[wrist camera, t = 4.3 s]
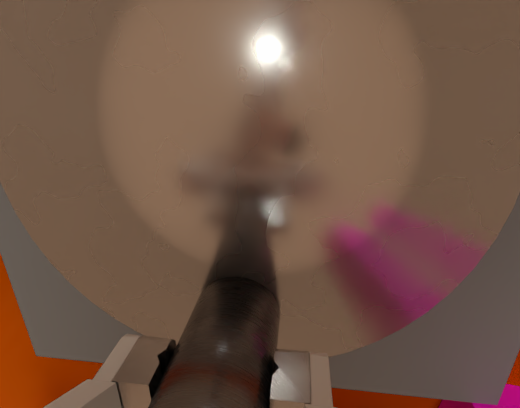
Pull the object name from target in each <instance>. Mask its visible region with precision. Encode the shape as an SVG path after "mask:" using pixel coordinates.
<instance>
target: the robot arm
mask: <svg viewBox="0 0 520 408" xmlns="http://www.w3.org/2000/svg"><path fill="white" fill-rule="evenodd" d="M175 348H176V341H175V340H174V339H168V338H160V337H152V336H144V335H142V336H141V335H133V334H126V335H124V336H123V337H122V338H121V339H120V340H119V342H118V343H117V345H116V346H115V348H114V349H113V350H112V352H111V353H110V355H109V356H108V358H107V359H106V361H105V362H104V364H103V365H102V366H101V368H100V369H99V371H98V372H97V374H96V375H95V377H94V378H93V379H92V380H90V379H87V380H86V381H84V382H82V383H81V384H79V385H78V386H76V387H75V388H73V389H71V390H70V391H68V392H67V393H65V394H64V395H62V396H61V397H59V398H57V399H56V400H54V401H53V402H51V403H50V404H48V405H46V406H45V407H43V408H148V406H149V404H150V402H151V400H152V398H153V396H154V393H155V391H156V389H157V387H158V385H159V383H160V380H161V378H162V376H163V374H164V372H165V370H166V367H167V365H168V363H169V361H170V359H171V357H172V354H173V352H174V350H175ZM270 408H336V407H333V401H332V390H331V380H330V369H329V359H328V355H327V353H321V352H309V351H299V350H287V349H275V353H274V367H273V375H272V383H271V394H270Z"/></svg>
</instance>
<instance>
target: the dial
mask: <svg viewBox="0 0 520 408" xmlns="http://www.w3.org/2000/svg"><path fill="white" fill-rule="evenodd" d="M0 182H1V185H2V187H3V189H4V191H5V193H6V195H7V197H8V199H9V201H10V203H11V205H12V207H13V209H14V211H15V213H16V215H17V216H18V218H19V219H20V221H21V222H22V224H23V226H24V227H25V229H26V230H27V232H28V233H29V235H30V237H31V238H32V240H33V241H34V242H35V243H36V245H37V246H38V247H39V249H40V250H41V251H42V252H43V254H44V255H45V256H46V258H47V259H48V260H49V261H50V263H51V264H52V265H53V266H54V267H55V268H56V269H57V270H58V271H59V272H60V273H61V274H62V275H63V276H64V277H65V278H66V280H67V281H68V282H69V283H70V284H71V285H73V286H74V287H75V288H76V289H77V290H78V291H79V292H81V293H82V294H83V295H84V296H85V297H86V298H87V299H89V300H90V301H91V302H92V303H93V304H95V305H96V306H98V307H99V308H100V309H102V310H103V311H105V312H106V313H107V314H109V315H110V316H112V317H113V318H114V319H116V320H118V321H120V322H121V323H123V324H125V325H126V326H128V327H130V328H132V329H133V330H135V331H137V332H138V333H141V334H143V335H145V336H152V337H160V338H168V339H174V340H175V341H176V348H175V350H174V352H173V354H172V357H171V359H170V361H169V363H168V365H167V367H166V370H165V372H164V374H163V376H162V378H161V380H160V383H159V385H158V387H157V389H156V391H155V393H154V396H153V398H152V400H151V402H150V404H149V406H148V408H270V394H271V383H272V375H273V367H274V353H275V349H287V350H299V351H309V352H321V353H327V355H328V357H332V356H336V355H339V354H343V353H347V352H350V351H353V350H356V349H358V348H361V347H364V346H366V345H369V344H372V343H374V342H377V341H379V340H381V339H383V338H385V337H387V336H388V335H390V334H392V333H394V332H396V331H398V330H400V329H402V328H404V327H405V326H407V325H408V324H410V323H411V322H413V321H415V320H416V319H418V318H419V317H421V316H422V315H424V314H425V313H427V312H428V311H429V310H431V309H432V308H433V307H434V306H435V305H437V304H438V303H439V302H440V301H441V300H443V299H444V298H445V297H446V296H447V295H449V294H450V293H451V292H452V291H453V290H454V289H455V288H456V287H457V286H458V285H459V284H460V283H461V282H462V281H463V280H464V278H465V277H466V276H467V275H468V274H469V273H470V272H471V271H472V270H473V269H474V268H475V267H476V265H477V264H478V263H479V261H480V260H481V259H482V257H483V256H484V255H485V253H486V252H487V250H488V249H489V248H490V246H491V245H492V244H493V242H494V241H495V240H496V238H497V236H498V234H499V233H500V231H501V229H502V227H503V225H504V224H505V222H506V220H507V218H508V216H509V215H510V213H511V211H512V209H513V208H514V205H515V203H516V200H517V198H518V195H519V193H520V0H0Z"/></svg>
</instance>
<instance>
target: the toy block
mask: <svg viewBox="0 0 520 408" xmlns="http://www.w3.org/2000/svg"><path fill="white" fill-rule="evenodd" d="M438 408H520V387H519V386H514V385H510V384H505V387H504V389H503V392H502V394H501V397H500V399H499V402H498V404H497V405H490V404H481V403H472V402H462V401H453V400H444V399H443V400H442V401H441V403H440V405H439V407H438Z"/></svg>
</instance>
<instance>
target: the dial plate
mask: <svg viewBox="0 0 520 408" xmlns="http://www.w3.org/2000/svg"><path fill="white" fill-rule="evenodd" d="M0 253H1V256H2V259H3V262H4V265H5V267H6V270H7V273H8V276H9V279H10V282H11V285H12V288H13V290H14V293H15V296H16V299H17V302H18V305H19V308H20V311H21V313H22V316H23V319H24V322H25V325H26V328H27V331H28V334H29V336H30V339H31V342H32V345H33V348H34V351H35V354H36V356H42V357H52V358H61V359H70V360H80V361H89V362H98V363H104V362H105V361H106V359H107V358H108V356H109V355H110V353H111V352H112V350H113V349H114V348H115V346H116V345H117V343H118V342H119V340H120V339H121V338H122V337H123V336H124V335H126V334H133V335H141V336H142V335H143V334H141V333H138V332H137V331H135V330H133V329H132V328H130V327H128V326H126V325H125V324H123V323H121V322H120V321H118V320H116V319H114V318H113V317H112V316H110V315H109V314H107V313H106V312H105V311H103V310H102V309H100V308H99V307H98V306H96V305H95V304H93V303H92V302H91V301H90V300H89V299H87V298H86V297H85V296H84V295H83V294H82V293H81V292H79V291H78V290H77V289H76V288H75V287H74V286H73V285H71V284H70V283H69V282H68V281H67V280H66V278H65V277H64V276H63V275H62V274H61V273H60V272H59V271H58V270H57V269H56V268H55V267H54V266H53V265H52V264H51V263H50V261H49V260H48V259H47V258H46V256H45V255H44V254H43V252H42V251H41V250H40V249H39V247H38V246H37V245H36V243H35V242H34V241H33V240H32V238H31V237H30V235H29V233H28V232H27V230H26V229H25V227H24V226H23V224H22V222H21V221H20V219H19V218H18V216H17V215H16V213H15V211H14V209H13V207H12V205H11V203H10V201H9V199H8V197H7V195H6V193H5V191H4V189H3V187H2V185H1V182H0ZM144 336H145V335H144ZM519 349H520V193H519V195H518V198H517V200H516V203H515V205H514V208H513V209H512V211H511V213H510V215H509V216H508V218H507V220H506V222H505V224H504V225H503V227H502V229H501V231H500V233H499V234H498V236H497V238H496V240H495V241H494V242H493V244H492V245H491V246H490V248H489V249H488V250H487V252H486V253H485V255H484V256H483V257H482V259H481V260H480V261H479V263H478V264H477V265H476V267H475V268H474V269H473V270H472V271H471V272H470V273H469V274H468V275H467V276H466V277H465V278H464V280H463V281H462V282H461V283H460V284H459V285H458V286H457V287H456V288H455V289H454V290H453V291H452V292H451V293H450V294H449V295H447V296H446V297H445V298H444V299H443V300H441V301H440V302H439V303H438V304H437V305H435V306H434V307H433V308H432V309H431V310H429V311H428V312H427V313H425V314H424V315H422V316H421V317H419V318H418V319H416V320H415V321H413V322H411V323H410V324H408V325H407V326H405V327H404V328H402V329H400V330H398V331H396V332H394V333H392V334H390V335H388V336H387V337H385V338H383V339H381V340H379V341H377V342H374V343H372V344H369V345H366V346H364V347H361V348H358V349H356V350H353V351H350V352H347V353H343V354H339V355H336V356H332V357H328V359H329V369H330V380H331V387H332V388H341V389H350V390H360V391H369V392H378V393H388V394H397V395H406V396H416V397H425V398H434V399H444V400H453V401H462V402H472V403H481V404H490V405H497V404H498V402H499V399H500V397H501V394H502V392H503V389H504V387H505V384H506V382H507V379H508V377H509V374H510V372H511V369H512V367H513V364H514V362H515V359H516V357H517V354H518V352H519Z"/></svg>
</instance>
